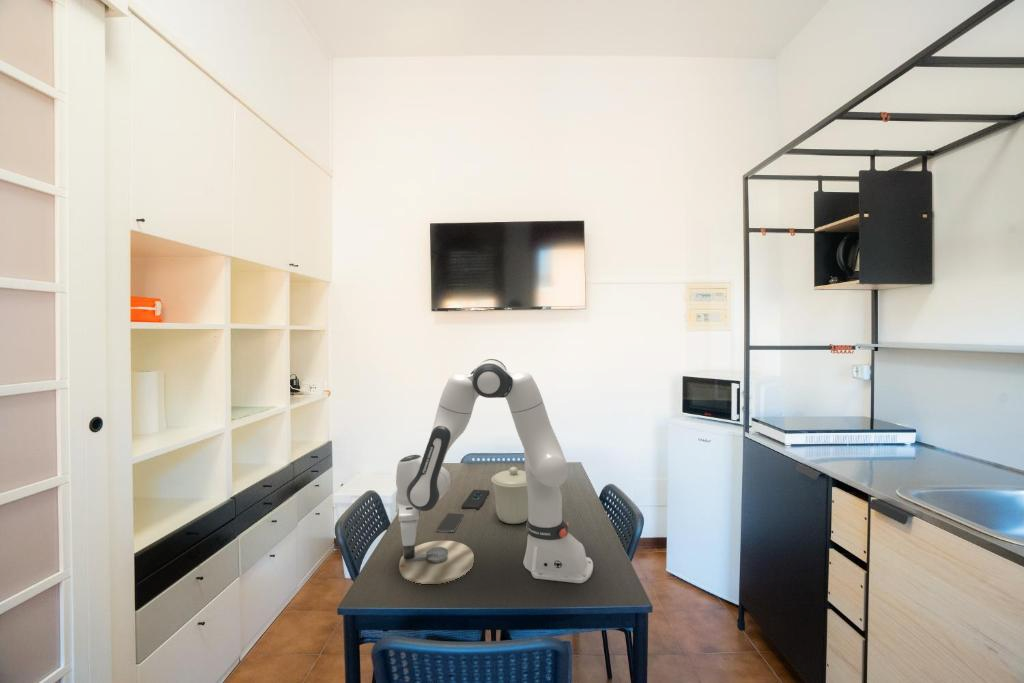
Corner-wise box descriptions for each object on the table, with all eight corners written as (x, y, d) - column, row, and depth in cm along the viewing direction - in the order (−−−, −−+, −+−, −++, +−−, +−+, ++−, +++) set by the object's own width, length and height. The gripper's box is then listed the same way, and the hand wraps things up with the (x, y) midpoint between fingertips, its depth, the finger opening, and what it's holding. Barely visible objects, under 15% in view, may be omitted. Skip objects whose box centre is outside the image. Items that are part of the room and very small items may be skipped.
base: (486, 552, 143) (486, 547, 143) (450, 592, 121) (449, 586, 121) (427, 539, 152) (426, 535, 152) (383, 574, 130) (383, 569, 130)
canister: (532, 530, 158) (532, 475, 158) (486, 526, 162) (486, 473, 162) (538, 511, 176) (538, 461, 176) (497, 507, 180) (497, 459, 179)
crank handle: (448, 551, 140) (448, 535, 140) (447, 562, 133) (447, 545, 133) (405, 554, 138) (404, 537, 138) (401, 565, 131) (401, 548, 131)
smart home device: (490, 490, 197) (479, 507, 177) (490, 493, 197) (479, 511, 177) (473, 489, 198) (460, 506, 179) (473, 492, 198) (460, 510, 179)
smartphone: (464, 513, 173) (453, 531, 157) (464, 516, 173) (453, 533, 157) (447, 512, 174) (435, 529, 158) (447, 515, 174) (435, 532, 158)
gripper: (401, 493, 147) (401, 531, 147) (398, 518, 127) (397, 563, 127) (419, 492, 149) (419, 530, 149) (419, 516, 129) (418, 561, 129)
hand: (409, 545), depth 138 cm, fingers closed
